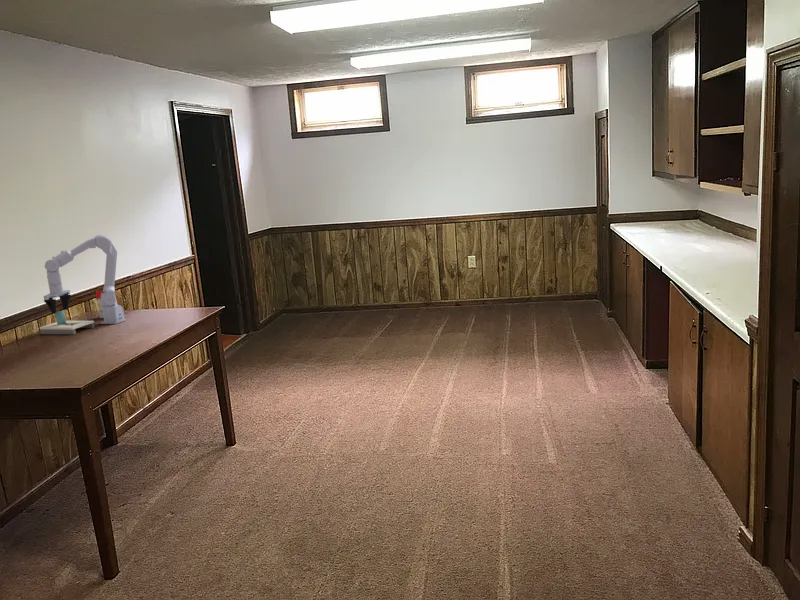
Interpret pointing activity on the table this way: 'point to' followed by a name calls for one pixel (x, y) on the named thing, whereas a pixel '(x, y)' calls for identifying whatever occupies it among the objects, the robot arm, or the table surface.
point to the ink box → (100, 303)
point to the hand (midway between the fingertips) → (60, 311)
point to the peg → (60, 318)
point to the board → (66, 327)
